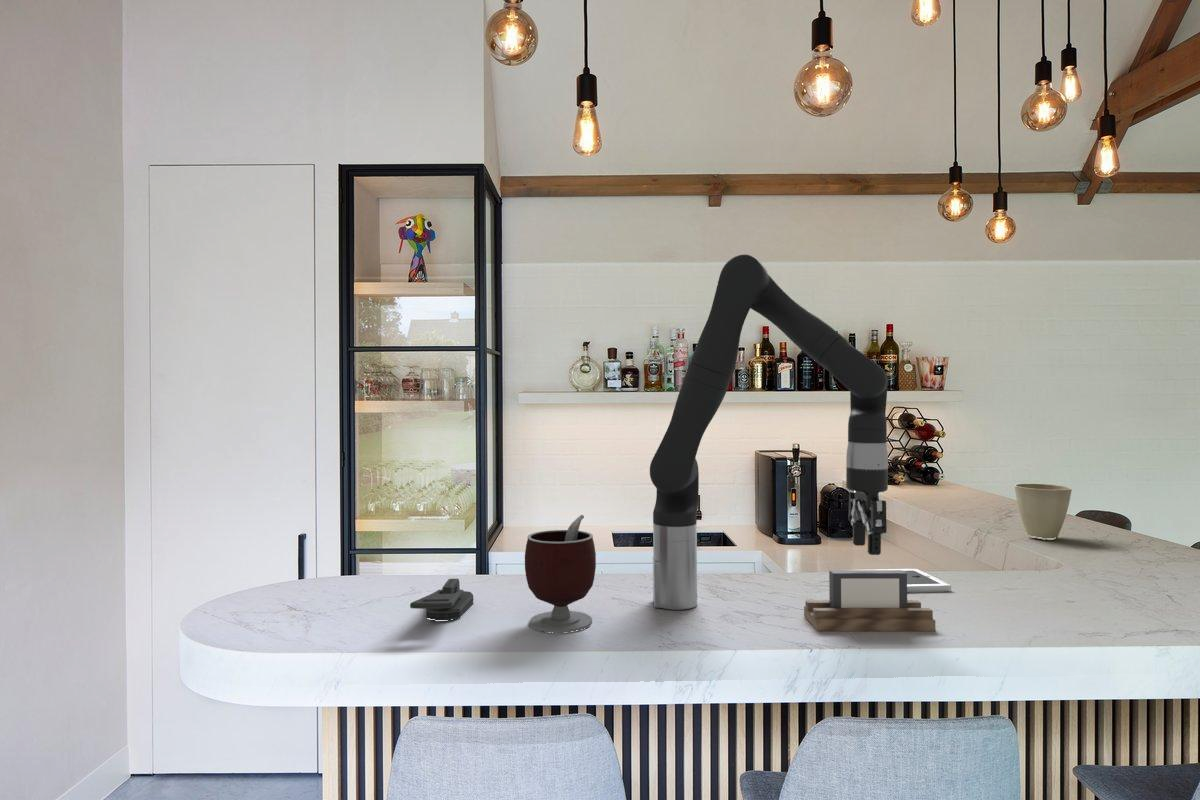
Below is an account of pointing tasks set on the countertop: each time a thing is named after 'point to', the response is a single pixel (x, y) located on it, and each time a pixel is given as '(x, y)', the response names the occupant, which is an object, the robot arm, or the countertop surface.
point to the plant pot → (1042, 508)
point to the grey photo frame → (868, 588)
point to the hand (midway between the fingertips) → (866, 549)
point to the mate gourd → (560, 575)
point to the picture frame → (923, 582)
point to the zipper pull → (445, 602)
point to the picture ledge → (870, 624)
